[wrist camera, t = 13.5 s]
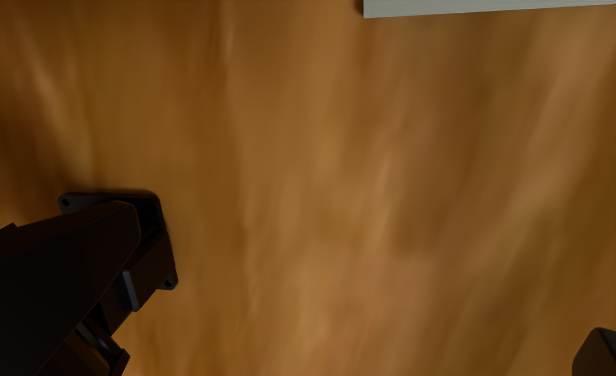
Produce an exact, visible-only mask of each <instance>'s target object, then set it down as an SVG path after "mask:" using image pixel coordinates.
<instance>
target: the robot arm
mask: <svg viewBox="0 0 616 376" xmlns="http://www.w3.org/2000/svg"><path fill="white" fill-rule="evenodd" d="M67 200H68V201H69V202H68V201H67ZM58 202H59V205H60V208H61V211H62V214H63V215H60V216H56V217H53V218H49V219H45V220H42V221H38V222H34V223H31V224H27V225H23V226H20V227H17V226H16V225H15V224H14V223H11V224H9V225H7V226H6V227H4V228H2V229H0V376H122V373H123V371H124V369H125V367H126V365H127V363H128V361H129V359H130V355H129V354H128V353H127V352H126V351H125V349H124V348H123V349H121V348H120V347H119V346H118V344H117V343H116V342H115V341H114V340H113V339H112V338H111V336H112V335H113V333H114V332H115V331H116V330H117V329H118V328H119V326H120V325H121V324H122V323H123V322H124V321H125V319H126V318H127V317H128V316H129V315H130V313H131V312H137V311H139V309H140V308H141V307H142V306H143V305H144V304H145V302H146V301H147V300H148V299H149V298H150V296H151V295H152V294H153V293H154V292H155V290H156V289H161V290H173V289H174V288H175V287H176V285H177V284H178V278H177V274H176V269H175V262H174V257H173V253H172V249H171V244H170V240H169V236H168V232H167V231H166V227H165V222H164V218H163V214H162V209H161V205H160V202H159V200H158V199H157V197H155V196H153V195H136V194H104V193H72V192H67V193H64V194H63V195H61V196H60V197H59V198H58ZM148 202H150V203H151V204H152V206H153V207H152V206H150V205H149V203H148ZM168 281H170V282H171V283H170V282H168ZM572 376H616V331H613V330H609V329H605V328H602V327H597V328H594V329H593V330H592V331H591V332H590V333H589V335H588V337H587V338H586V340H585V341H584V343H583V345H582V346H581V348H580V349H579V351H578V352H577V354H576V356H575V358H574V360H573V364H572Z"/></svg>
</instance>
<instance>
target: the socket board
mask: <svg viewBox="0 0 616 376" xmlns="http://www.w3.org/2000/svg"><path fill="white" fill-rule="evenodd" d="M603 4H616V0H364V18H377V17H394V16H411V15H429V14H446V13H464V12H481V11H499V10H516V9H534V8H551V7H568V6H586V5H603Z"/></svg>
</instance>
